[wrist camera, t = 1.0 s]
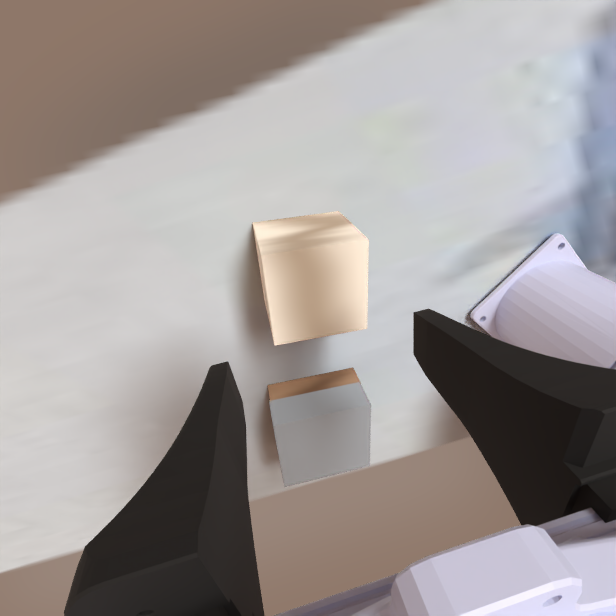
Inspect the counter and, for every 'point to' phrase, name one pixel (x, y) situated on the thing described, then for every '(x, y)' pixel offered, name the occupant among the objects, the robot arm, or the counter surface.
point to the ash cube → (313, 276)
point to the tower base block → (312, 383)
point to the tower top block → (322, 432)
